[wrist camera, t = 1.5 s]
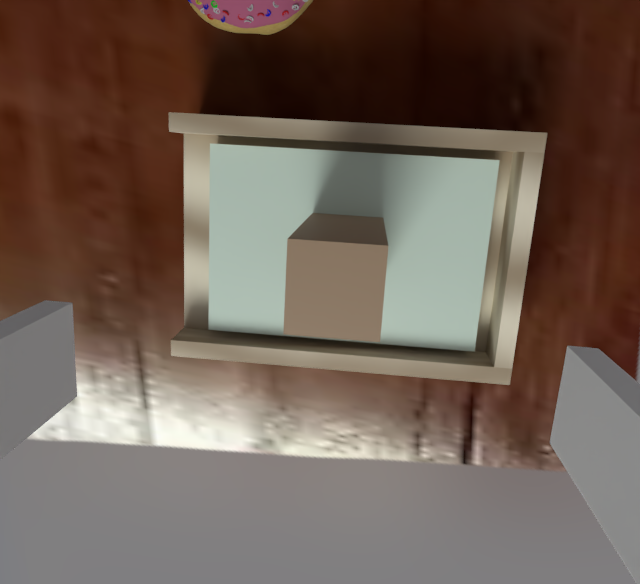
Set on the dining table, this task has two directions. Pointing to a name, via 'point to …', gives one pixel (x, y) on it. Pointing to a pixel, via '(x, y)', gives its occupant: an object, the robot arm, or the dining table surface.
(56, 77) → the dining table surface
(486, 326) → the birch box
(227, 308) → the cover plate
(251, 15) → the cupcake
